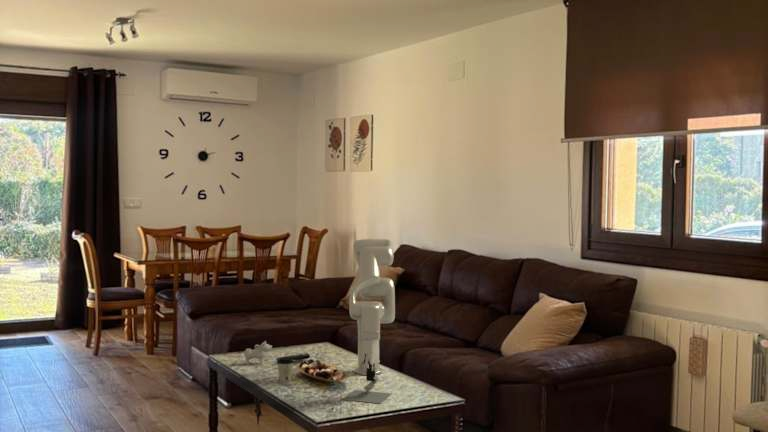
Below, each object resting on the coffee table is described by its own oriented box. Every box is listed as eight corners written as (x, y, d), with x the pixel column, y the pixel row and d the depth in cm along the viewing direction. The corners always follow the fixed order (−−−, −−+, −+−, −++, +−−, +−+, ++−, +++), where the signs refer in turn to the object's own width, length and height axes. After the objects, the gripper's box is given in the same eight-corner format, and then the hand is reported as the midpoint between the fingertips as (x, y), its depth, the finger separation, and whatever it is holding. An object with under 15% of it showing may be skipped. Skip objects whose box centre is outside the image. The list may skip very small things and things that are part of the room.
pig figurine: (272, 365, 356) (271, 342, 355) (244, 365, 354) (244, 343, 354) (272, 362, 361) (272, 340, 361) (244, 363, 360) (244, 340, 359)
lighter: (367, 392, 311) (364, 390, 303) (364, 389, 312) (362, 386, 304) (380, 381, 312) (378, 378, 304) (378, 378, 312) (376, 375, 305)
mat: (354, 390, 314) (354, 389, 314) (391, 394, 309) (391, 393, 309) (341, 399, 301) (341, 399, 301) (380, 404, 296) (380, 403, 296)
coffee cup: (290, 384, 324) (290, 360, 323) (274, 383, 325) (274, 360, 324) (295, 379, 330) (295, 357, 330) (280, 379, 332) (280, 356, 331)
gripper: (368, 331, 315) (368, 375, 316) (355, 337, 301) (355, 384, 302) (385, 332, 313) (385, 377, 313) (373, 338, 299) (373, 385, 299)
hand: (370, 380), depth 307 cm, fingers closed
